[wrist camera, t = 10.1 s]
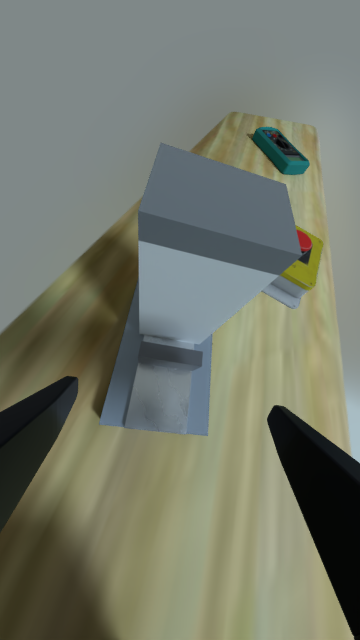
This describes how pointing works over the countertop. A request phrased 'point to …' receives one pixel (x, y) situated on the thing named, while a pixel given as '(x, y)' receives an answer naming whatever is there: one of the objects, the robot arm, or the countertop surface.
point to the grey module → (207, 243)
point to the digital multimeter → (280, 151)
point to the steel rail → (160, 395)
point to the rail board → (126, 373)
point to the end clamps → (169, 356)
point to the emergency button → (298, 272)
